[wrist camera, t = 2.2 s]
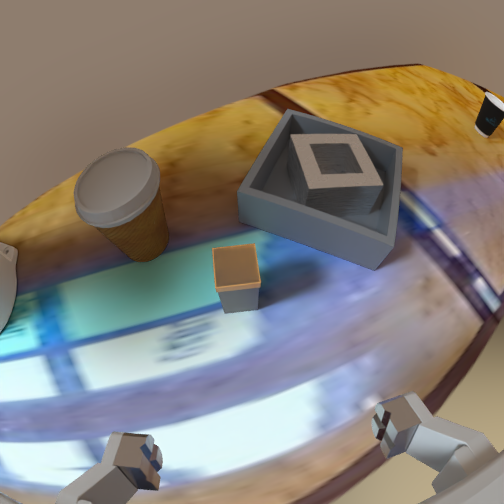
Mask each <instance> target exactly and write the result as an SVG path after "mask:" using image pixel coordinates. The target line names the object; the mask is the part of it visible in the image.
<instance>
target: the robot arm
mask: <svg viewBox="0 0 504 504" xmlns="http://www.w3.org/2000/svg"><path fill="white" fill-rule="evenodd" d="M17 256H18V250H17V249H16V248H14V247H13V246H10V245H7V244H4V243H1V242H0V332H1V331H2V329H3V328H4V326H5V325H6V323H7V321H8V319H9V317H10V314H11V312H12V309H13V305H14V301H15V296H16V288H17V278H16V261H17ZM375 411H376V414H375V415H374V416H373V418H372V430H373V433H374V436H375V438H376V439H378V440H380V441H382V442H381V445H380V448H381V450H382V452H383V454H384V455H385V457H386V459H387V458H390V457H393V456H396V455H398V454H401V453H403V452H406V453H407V454H409V455H411V456H412V457H414V458H416V459H417V460H419V461H421V462H422V463H424V464H426V465H428V466H429V467H431V468H433V469H435V470H436V471H438V472H440V473H439V474H438V475H437V477H436V478H435V479H434V480H433V482H432V486H433V488H434V490H435V492H436V495H434V496H432V497H430V498H428V499H426V500H424V501H423V502H421V503H418V504H504V450H502V451H501V452H500V453H498V452H497V451H496V449H495V448H494V447H493V445H492V444H491V443H490V441H489V440H488V439H487V438H486V436H485V435H484V434H483V433H482V432H478V431H476V430H473V429H470V428H467V427H464V426H461V425H459V424H456V423H453V422H451V421H448V420H445V419H443V418H440V417H438V416H436V417H433V416H432V414H431V413H430V412H429V410H428V409H427V407H426V406H425V405H424V403H423V402H422V401H421V399H420V398H419V397H418V395H417V394H416V393H415V392H414V391H411V392H408V393H405V394H403V395H399V396H396V397H394V398H391V399H388V400H385V401H382V402H379V403H377V405H376V407H375ZM162 463H163V460H162V453H161V450H160V448H159V447H158V446H157V445H155V444H154V438H153V437H152V435H147V434H134V433H124V432H112V433H111V435H110V437H109V440H108V443H107V446H106V449H105V452H104V455H103V458H102V461H101V463H97V464H95V465H94V466H93V467H92V468H90V469H89V470H88V471H86V472H85V473H84V474H83V475H81V476H80V477H79V478H77V479H76V480H75V481H73V482H72V483H71V484H69V485H68V486H67V487H65V488H64V489H62V490H61V491H60V492H59V494H58V497H57V500H56V503H55V504H126V503H127V502H128V501H129V500H130V498H131V497H132V496H133V495H134V494H135V493H136V492H137V491H138V489H143V490H155V491H158V490H159V483H160V476H159V474H158V473H157V472H158V471H159V470H160V469H161V468H162ZM0 504H22V503H20V502H18V501H16V500H14V499H12V498H10V497H9V496H7V495H5V494H3V493H2V492H0Z"/></svg>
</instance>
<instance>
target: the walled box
mask: <svg viewBox="0 0 504 504" xmlns="http://www.w3.org/2000/svg"><path fill="white" fill-rule="evenodd" d="M291 134H357V136H358V138H359V139H360V141H361V143H362V145H363V147H364V148H365V150H366V152H367V154H368V156H369V158H370V159H371V161H372V163H373V165H374V167H375V169H376V171H377V173H378V175H379V177H380V179H381V181H382V183H383V185H384V186H383V188H382V190H381V192H380V193H379V195H378V197H377V199H376V201H375V203H374V205H373V207H372V209H371V210H370V212H369V214H368V215H356V216H344V217H336V216H333V215H330V214H327V213H324V212H322V211H319V210H316V209H313V208H310V207H307V206H305V205H302V204H299V203H296V199H295V195H294V192H293V188H292V185H291V181H290V178H289V174H288V171H287V167H286V165H287V158H288V150H289V142H290V135H291ZM402 151H403V148H402V147H400V146H397V145H395V144H392V143H390V142H388V141H385V140H382V139H380V138H377V137H375V136H372V135H369V134H367V133H364V132H361V131H358V130H356V129H353V128H350V127H347V126H344V125H341V124H338V123H335V122H332V121H328V120H325V119H322V118H318V117H315V116H312V115H308V114H304V113H301V112H297V111H293V110H289V109H287V111H286V112H285V114H284V115H283V117H282V119H281V120H280V122H279V123H278V125H277V126H276V128H275V130H274V131H273V133H272V134H271V136H270V138H269V139H268V141H267V142H266V144H265V146H264V147H263V149H262V151H261V152H260V154H259V155H258V157H257V159H256V160H255V162H254V164H253V165H252V167H251V169H250V170H249V172H248V174H247V175H246V177H245V179H244V180H243V182H242V184H241V185H240V187H239V189H238V190H237V197H238V213H239V222H241V223H244V224H247V225H250V226H253V227H256V228H258V229H261V230H264V231H267V232H270V233H273V234H276V235H278V236H281V237H284V238H287V239H290V240H292V241H295V242H298V243H301V244H303V245H306V246H309V247H312V248H315V249H317V250H320V251H323V252H325V253H328V254H331V255H334V256H336V257H339V258H342V259H344V260H347V261H350V262H352V263H355V264H358V265H360V266H363V267H366V268H368V269H371V270H374V271H375V269H376V268H377V267H378V266H379V265H380V263H381V262H382V261H383V260H384V259H385V257H386V256H387V255H388V254H389V253H390V251H391V250H392V249H393V248H394V244H395V237H396V229H397V221H398V211H399V201H400V189H401V174H402Z"/></svg>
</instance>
